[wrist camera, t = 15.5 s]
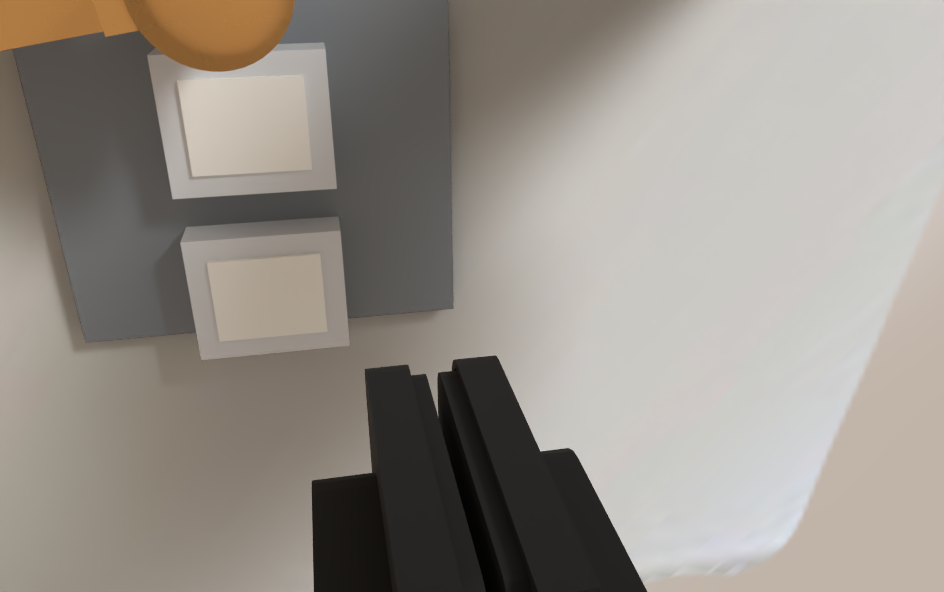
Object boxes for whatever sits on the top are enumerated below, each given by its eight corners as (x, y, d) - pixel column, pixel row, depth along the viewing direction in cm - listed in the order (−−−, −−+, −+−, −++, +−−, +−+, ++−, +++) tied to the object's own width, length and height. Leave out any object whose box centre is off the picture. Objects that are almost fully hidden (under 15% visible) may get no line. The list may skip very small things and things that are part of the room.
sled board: (442, -73, 34) (483, -71, 27) (450, 308, 42) (482, 392, 35) (-7, -70, 31) (-106, -66, 24) (92, 341, 39) (43, 442, 32)
